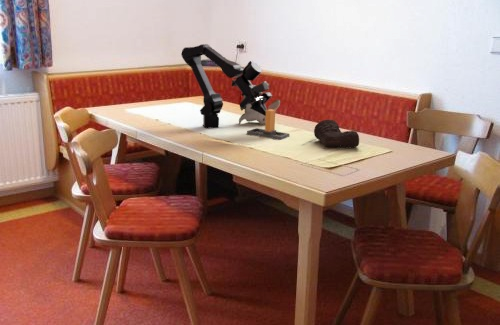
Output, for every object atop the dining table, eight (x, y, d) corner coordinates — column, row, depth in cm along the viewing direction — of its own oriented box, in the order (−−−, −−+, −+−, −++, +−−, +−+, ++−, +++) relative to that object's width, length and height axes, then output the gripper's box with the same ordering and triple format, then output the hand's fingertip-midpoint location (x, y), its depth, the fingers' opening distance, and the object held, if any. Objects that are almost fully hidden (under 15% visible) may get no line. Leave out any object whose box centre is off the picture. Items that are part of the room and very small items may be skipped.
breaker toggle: (262, 135, 209) (263, 110, 206) (268, 133, 213) (269, 108, 210) (270, 136, 207) (271, 111, 204) (276, 134, 211) (277, 110, 208)
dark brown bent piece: (361, 131, 192) (348, 117, 205) (324, 134, 190) (314, 120, 203) (358, 153, 196) (346, 138, 209) (323, 156, 194) (313, 141, 207)
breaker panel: (243, 136, 211) (243, 131, 210) (257, 131, 220) (257, 127, 220) (279, 142, 201) (279, 138, 201) (292, 137, 211) (292, 132, 211)
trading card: (343, 175, 160) (300, 163, 172) (343, 177, 161) (300, 165, 172) (360, 169, 168) (318, 158, 180) (360, 170, 168) (317, 159, 180)
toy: (237, 126, 232) (278, 127, 228) (236, 94, 228) (278, 95, 224) (241, 122, 240) (281, 124, 236) (240, 91, 236) (281, 92, 232)
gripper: (246, 77, 199) (268, 106, 196) (269, 73, 214) (289, 101, 212) (230, 94, 205) (251, 123, 203) (253, 90, 220) (273, 116, 218)
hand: (267, 115), depth 209 cm, fingers closed, pressing on breaker toggle
